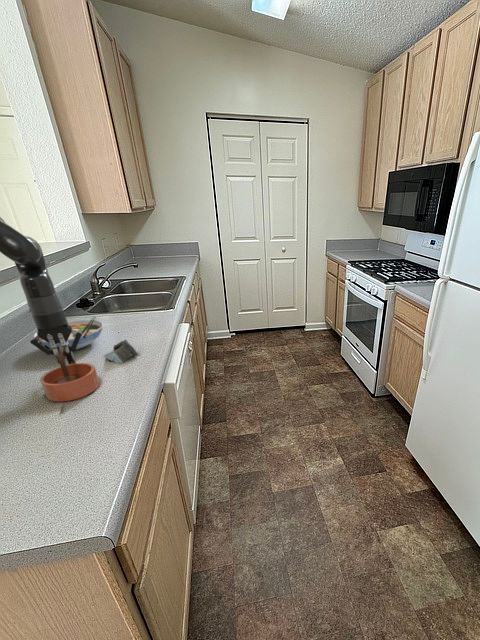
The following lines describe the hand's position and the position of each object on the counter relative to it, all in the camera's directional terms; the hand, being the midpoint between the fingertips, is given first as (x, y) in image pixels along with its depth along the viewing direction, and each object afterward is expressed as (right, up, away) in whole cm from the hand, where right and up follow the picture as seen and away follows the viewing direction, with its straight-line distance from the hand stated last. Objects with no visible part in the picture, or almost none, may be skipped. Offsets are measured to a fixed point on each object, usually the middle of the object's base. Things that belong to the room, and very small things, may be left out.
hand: (67, 363), depth 103 cm
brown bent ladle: (0, -5, +2) cm, 5 cm away
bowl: (+4, -8, -2) cm, 9 cm away
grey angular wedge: (+7, +1, +18) cm, 19 cm away
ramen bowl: (-16, +6, +28) cm, 32 cm away
